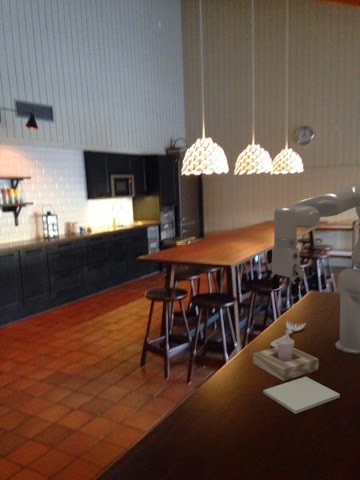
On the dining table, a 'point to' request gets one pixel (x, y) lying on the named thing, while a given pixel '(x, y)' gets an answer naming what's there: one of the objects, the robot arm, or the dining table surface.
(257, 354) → the wooden square frame
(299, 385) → the serving board
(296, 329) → the white long flared piece
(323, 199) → the robot arm
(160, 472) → the dining table surface
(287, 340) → the smoothie
